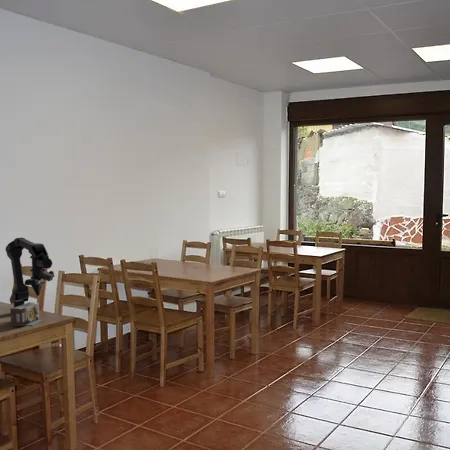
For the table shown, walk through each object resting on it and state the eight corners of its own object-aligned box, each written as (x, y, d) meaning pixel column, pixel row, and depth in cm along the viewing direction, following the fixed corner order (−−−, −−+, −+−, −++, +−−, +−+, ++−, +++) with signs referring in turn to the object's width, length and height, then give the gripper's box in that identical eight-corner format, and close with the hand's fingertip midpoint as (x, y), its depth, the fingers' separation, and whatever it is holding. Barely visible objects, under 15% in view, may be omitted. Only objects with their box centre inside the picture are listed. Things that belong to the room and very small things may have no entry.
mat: (25, 320, 289) (25, 319, 289) (42, 320, 288) (42, 319, 288) (16, 325, 278) (16, 324, 278) (32, 325, 277) (32, 324, 277)
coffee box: (39, 319, 290) (21, 327, 274) (29, 318, 291) (10, 326, 276) (39, 302, 289) (20, 309, 273) (28, 301, 291) (9, 308, 275)
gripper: (43, 269, 283) (44, 299, 284) (58, 264, 301) (59, 292, 302) (23, 269, 284) (24, 298, 285) (39, 264, 303) (40, 292, 304)
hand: (38, 295), depth 294 cm, fingers closed
